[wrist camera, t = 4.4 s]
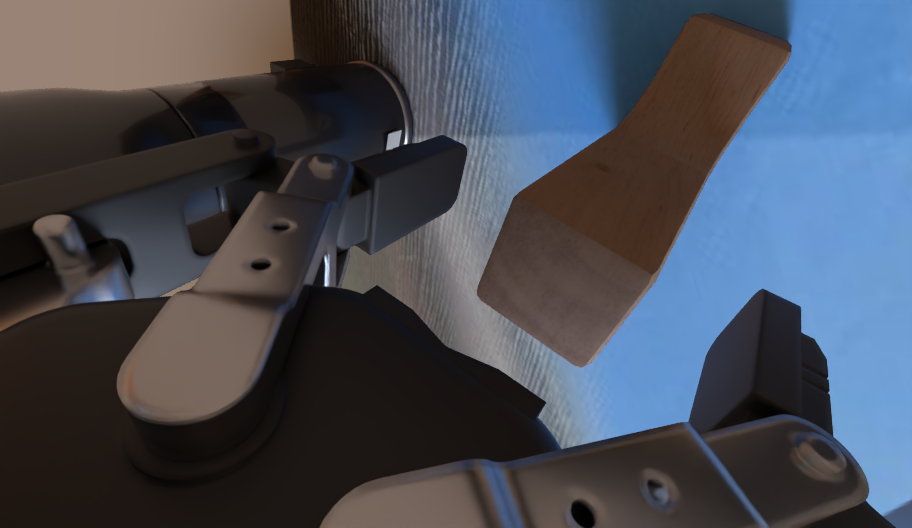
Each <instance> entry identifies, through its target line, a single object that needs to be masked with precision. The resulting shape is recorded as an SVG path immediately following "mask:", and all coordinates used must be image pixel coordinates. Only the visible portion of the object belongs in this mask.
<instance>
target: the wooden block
mask: <svg viewBox="0 0 912 528" xmlns="http://www.w3.org/2000/svg"><path fill="white" fill-rule="evenodd" d="M791 47H792V46H791V44H790V43H789V42H788V41H787V40H784V39H781V38H778V37H775V36H773V35H770V34H767V33H764V32H762V31H759V30H756V29H753V28H751V27H748V26H745V25H742V24H740V23H737V22H734V21H731V20H728V19H726V18H723V17H720V16H717V15H715V14H696V15H692V16H691V17H690V18H689V19H688V20H687V21H686V23H685V25H684V26H683V28H682V30H681V32H680V33H679V35H678V37H677V39H676V40H675V42H674V44H673V46H672V47H671V49H670V51H669V53H668V54H667V56H666V58H665V60H664V61H663V63H662V65H661V67H660V68H659V70H658V72H657V74H656V75H655V77H654V79H653V80H652V82H651V83H650V84H649V86H648V87H647V89H646V90H645V92H644V93H643V94H642V96H641V97H640V99H639V100H638V102H637V103H636V105H635V106H634V107H633V109H632V110H631V112H630V113H629V114H628V115H627V116H626V117H625V118H624V119H623V120H622V121H621V123H620V124H619V125H618V126H617V127H616V128H615V129H613V130H612V131H610V132H609V133H607V134H606V135H604V136H603V137H601V138H600V139H598V140H597V141H595V142H594V143H592V144H591V145H589V146H588V147H586V148H585V149H583V150H582V151H580V152H579V153H577V154H576V155H574V156H573V157H571V158H570V159H568V160H567V161H565V162H564V163H562V164H561V165H559V166H558V167H556V168H555V169H553V170H552V171H550V172H549V173H547V174H546V175H544V176H543V177H541V178H540V179H538V180H537V181H535V182H534V183H532V184H531V185H529V186H528V187H526V188H525V189H523V190H522V191H520V192H519V193H518V194H517V195H516V196H515V197H514V198H513V200H512V203H511V205H510V208H509V210H508V213H507V215H506V218H505V220H504V223H503V225H502V228H501V230H500V233H499V235H498V238H497V240H496V243H495V245H494V248H493V250H492V253H491V255H490V258H489V260H488V263H487V265H486V268H485V270H484V273H483V275H482V278H481V280H480V282H479V285H478V289H477V295H478V297H479V298H480V299H481V301H483V302H484V303H486V304H487V305H488V306H490V307H491V308H493V309H494V310H496V311H497V312H498V313H500V314H501V315H503V316H504V317H506V318H507V319H508V320H510V321H511V322H513V323H514V324H516V325H517V326H518V327H520V328H521V329H523V330H524V331H526V332H527V333H528V334H530V335H531V336H533V337H534V338H536V339H537V340H539V341H540V342H541V343H543V344H544V345H546V346H547V347H549V348H550V349H551V350H553V351H554V352H556V353H557V354H559V355H560V356H561V357H563V358H564V359H566V360H567V361H569V362H570V363H571V364H573V365H575V366H578V367H581V368H582V367H584V366H585V365H587V364H590V363H592V362H593V360H594V359H595V358H596V356H597V355H598V354H599V353H600V351H601V350H602V349H603V348H604V346H605V345H606V344H607V342H608V341H609V340H610V339H611V337H612V336H613V335H614V334H615V332H616V331H617V330H618V328H619V327H620V326H621V325H622V323H623V322H624V321H625V320H626V318H627V317H628V316H629V314H630V313H631V312H632V311H633V309H634V308H635V307H636V306H637V304H638V303H639V302H640V300H641V299H642V298H643V297H644V295H645V294H646V293H647V292H648V290H649V289H650V288H651V286H652V285H653V284H654V283H655V281H656V279H657V278H658V276H659V274H660V272H661V270H662V268H663V266H664V264H665V262H666V260H667V258H668V256H669V254H670V252H671V250H672V248H673V246H674V244H675V242H676V240H677V238H678V236H679V234H680V232H681V230H682V228H683V226H684V224H685V222H686V220H687V218H688V216H689V214H690V212H691V210H692V208H693V207H694V205H695V203H696V201H697V199H698V197H699V195H700V193H701V191H702V189H703V187H704V185H705V183H706V181H707V179H708V177H709V175H710V174H711V172H712V171H713V169H714V167H715V166H716V164H717V162H718V161H719V159H720V157H721V156H722V154H723V153H724V151H725V150H726V148H727V147H728V145H729V144H730V142H731V141H732V139H733V138H734V137H735V135H736V134H737V132H738V131H739V129H740V128H741V126H742V125H743V123H744V122H745V120H746V119H747V117H748V116H749V115H750V113H751V112H752V110H753V109H754V108H755V106H756V105H757V103H758V102H759V101H760V99H761V98H762V96H763V95H764V94H765V92H766V91H767V89H768V88H769V87H770V85H771V84H772V82H773V81H774V80H775V78H776V77H777V76H778V74H779V73H780V71H781V70H782V69H783V67H784V66H785V64H786V63H787V62H788V60H789V58H790V54H791Z"/></svg>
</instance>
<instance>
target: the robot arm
mask: <svg viewBox="0 0 912 528" xmlns="http://www.w3.org/2000/svg"><path fill="white" fill-rule="evenodd" d="M270 68H271V73H263V74H255V75H247V76H238V77H230V78H222V79H213V80H205V81H197V82H191V83H182V84H174V85H166V86H158V87H149V88H141V89H140V88H139V89H132V90H122V91H102V90H89V89H72V88H49V89H48V88H47V89H29V90H17V91H4V92H0V528H895V527H894V526H893V525H892V524H891V523H890V522H889V521H887V520H886V519H885V518H884V517H883V516H881V515H880V514H879V513H878V512H877V511H876V510H875V509H874V508H872V507H871V506H870V505H869V504H868V503H867V502H866V501H865V500H866V499H867V497H868V493H869V487H868V482H867V479H866V476H865V474H864V472H863V470H862V469H861V467H860V465H859V464H858V462H857V461H856V460H855V458H854V457H853V456H852V455H851V454H850V452H849V451H848V450H847V449H846V448H845V447H844V446H843V445H842V444H841V443H840V442H839V441H838V440H836V439H835V438H834V437H833V427H832V415H831V403H830V395H829V394H828V392H829V380H827V377H828V368H827V359H826V357H825V356H824V354H823V353H822V351H821V349H820V348H819V346H818V344H817V343H816V341H815V339H813V338H811V337H809V336H807V335H805V334H803V333H801V307H800V306H798V305H796V304H794V303H792V302H790V301H788V300H786V299H783V298H781V297H779V296H777V295H775V294H773V293H771V292H769V291H767V290H765V289H761V290H759V291H758V292H757V293H756V294H755V295H754V296H753V297H752V298H751V299H750V300H749V301H748V302H747V304H746V305H745V306H744V307H743V308H742V309H741V310H740V312H739V313H738V314H737V315H736V316H735V317H734V319H733V320H732V321H731V322H730V323H729V324H728V325H727V327H726V328H725V329H724V330H723V331H722V332H721V333H720V335H719V336H718V337H717V338H716V340H715V341H714V343H713V344H712V346H711V347H710V349H709V351H708V353H707V355H706V358H705V362H704V365H703V369H702V373H701V377H700V380H699V384H698V388H697V392H696V395H695V399H694V403H693V407H692V410H691V414H690V418H689V422H681V423H676V424H671V425H667V426H663V427H658V428H654V429H649V430H645V431H641V432H636V433H632V434H627V435H623V436H618V437H614V438H610V439H605V440H601V441H596V442H592V443H588V444H583V445H579V446H574V447H570V448H566V449H561V448H560V446H559V444H558V443H557V441H556V439H555V438H554V436H553V435H552V434H551V432H550V431H549V430H548V428H547V427H546V426H545V425H544V424H543V423H542V421H541V420H540V419H539V418H538V416H539V414H540V413H541V411H542V409H543V407H544V406H545V404H546V402H545V401H544V400H542V399H541V398H539V397H538V396H536V395H535V394H534V393H532V392H531V391H529V390H528V389H526V388H525V387H523V386H522V385H521V384H519V383H518V382H516V381H515V380H513V379H512V378H510V377H509V376H508V375H506V374H505V373H503V372H502V371H500V370H499V369H497V368H494V367H492V366H490V365H487V364H485V363H483V362H480V361H478V360H476V359H473V358H471V357H469V356H466V355H464V354H462V353H459V352H457V351H455V350H452V349H450V348H448V347H447V346H445V345H444V344H443V343H442V342H441V341H440V340H439V339H438V338H437V336H436V335H435V334H434V333H433V332H432V331H431V330H430V329H429V327H428V326H427V325H426V324H425V323H424V322H423V321H422V320H421V318H420V317H419V316H418V315H417V314H416V313H415V312H414V311H413V310H412V309H411V308H409V307H408V306H406V305H405V304H403V303H402V302H401V301H399V300H398V299H396V298H395V297H393V296H392V295H390V294H389V293H388V292H386V291H385V290H383V289H382V288H380V287H379V286H377V285H376V286H375V287H373V288H372V289H370V290H369V291H367V292H366V293H364V294H361V293H358V292H355V291H352V290H348V289H343V288H341V287H342V283H343V280H344V276H345V272H346V269H347V265H348V261H349V258H350V247H352V246H354V245H356V246H358V247H359V248H361V249H362V250H364V251H365V252H367V253H368V254H370V255H372V254H374V253H375V252H377V251H379V250H381V249H382V248H384V247H386V246H388V245H389V244H391V243H393V242H395V241H396V240H398V239H400V238H402V237H403V236H405V235H407V234H409V233H411V232H412V231H414V230H416V229H418V228H419V227H421V226H423V225H425V224H426V223H428V222H430V221H432V220H433V219H435V218H437V217H439V216H440V215H442V214H444V213H446V212H447V211H448V210H449V209H450V208H451V207H452V206H453V204H454V203H455V201H456V199H457V196H458V192H459V188H460V183H461V179H462V174H463V170H464V165H465V161H466V156H467V148H466V146H465V145H463V144H461V143H459V142H457V141H455V140H453V139H451V138H449V137H447V136H445V135H440V136H437V137H434V138H431V139H428V140H425V141H423V142H420V143H412V137H413V121H412V114H411V110H410V106H409V103H408V100H407V97H406V95H405V93H404V91H403V89H402V87H401V86H400V84H399V82H398V81H397V80H396V78H395V77H394V76H393V75H392V74H391V73H390V72H389V71H388V70H387V69H386V68H384V67H383V66H381V65H380V64H378V63H375V62H373V61H368V60H362V61H353V62H349V63H347V64H339V65H331V66H321V67H316V65H315V64H309V63H307V62H305V61H303V60H301V59H296V60H287V61H276V62H270ZM411 143H412V144H411ZM199 277H200V278H199ZM196 278H199V279H198V281H197V282H196V284H195V285H194V286H193V287H192V288H191V289H190V290H187V291H180V292H177V293H176V294H174V295H173V296H168V297H160V296H162V295H164V294H166V293H168V292H170V291H172V290H174V289H176V288H178V287H180V286H182V285H184V284H186V283H188V282H191V281H192V280H195V279H196Z"/></svg>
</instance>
